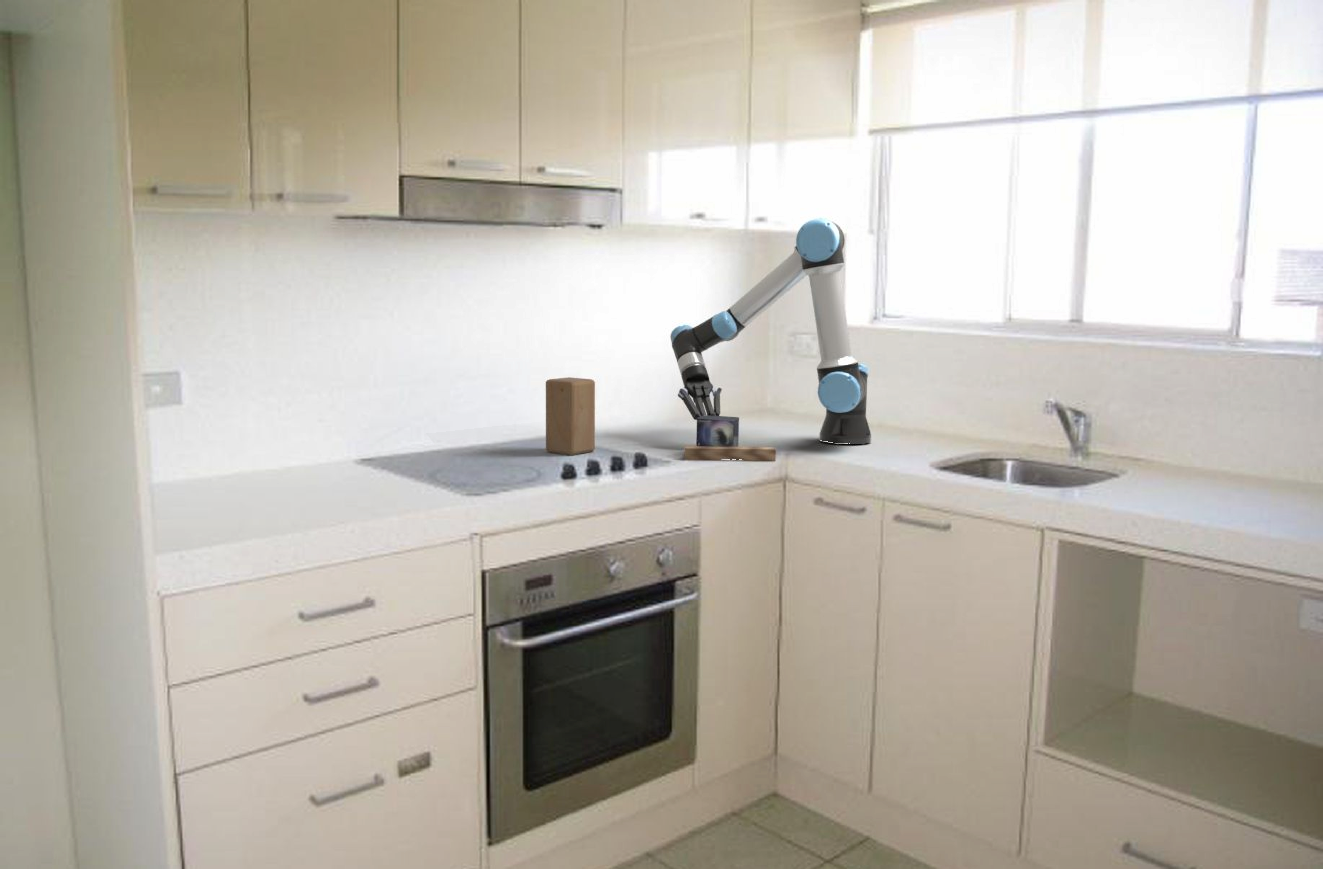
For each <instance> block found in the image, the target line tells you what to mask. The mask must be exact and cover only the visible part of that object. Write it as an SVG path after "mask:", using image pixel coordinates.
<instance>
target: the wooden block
mask: <svg viewBox="0 0 1323 869" xmlns="http://www.w3.org/2000/svg"><path fill="white" fill-rule="evenodd" d="M595 410H596V382H595V380H593V379H591V378H581V377H580V378H579V377H560V378H551V379H547V380H545V451H546V452H548V453H551V452H552V454H558V455H564V454H565V455H567V456H577V455H582V454H587V453H593V452H594V451H595V446H596V444H595V443H596V442H595V441H596V439H595V438H596V436H595V434H596V432H595V431H596V429H595V428H596V424H595V422H596V421H595V420H596V418H595V417H596V416H595V415H596V411H595Z"/></svg>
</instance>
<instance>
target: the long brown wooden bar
mask: <svg viewBox="0 0 1323 869" xmlns="http://www.w3.org/2000/svg"><path fill="white" fill-rule="evenodd" d="M776 452H777V449H776V447H775V446H738V447H724V446H696V445H685V446H684V458H683V459H684V461H719V460H721V459H730V460H732V459H736V460H739V459H742V460H745V461H744V462H776V459H777V458H776V457H777V455H776Z"/></svg>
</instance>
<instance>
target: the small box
mask: <svg viewBox="0 0 1323 869" xmlns="http://www.w3.org/2000/svg"><path fill="white" fill-rule="evenodd" d="M739 426H740V417H739V416H724V415H719V416H711V415H707V414H706V415H703V416H701V417H698V418H697V420H696V440H695V441H696V444H695V446H724V447H739V436H740V430H739V428H740V427H739Z"/></svg>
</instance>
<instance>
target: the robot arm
mask: <svg viewBox="0 0 1323 869" xmlns="http://www.w3.org/2000/svg"><path fill="white" fill-rule="evenodd" d="M845 239H846V238H845V235H844V232H843V230H842V228H841V227H840V225H838V224H837V223H835V222H834V221H831V220H829V219H826V218H822V217H820V218H814V219H811V220H808V221H806V222H805V223H804V224H802V226H801V227H800V228H799V230H798V231H797V234H796V239H795V246H793V249H794V250H793V253H792V254H790V255H789V256H788V257H787V258H786V259H784V260H783V261H781V263H780V264H779V265H778V266H777V267H775V268H774V269H773V270H772V271H771V272H769V274H767V275H766V276H765V277H764V278H762V279H761V280H760V281H759V282H758V283H756V284H755V285H754V286H753V287H752V288H751V289H750V290H749V291H747V292H746V293H745V294H744V295H743V296H742V297H740V298H739V299H738V300H737V301H736V302H735V303H734V304H732V305H731V306H730V307H729V308H728V309H727V310H724V311H721V312H718V313H717V314H714V315H713V316H711V317H710V318H708V319H706V320H704V321H703V322H701V323H700V324H698V325H696V326H694V327H693V326H690V325H688V324H683V325H677V327H675V328H674V329H672V331H671V333H670V335H669V336H670V337H669V338H670V342H671V347H672V350H673V354H674V356H675V359H676V362H677V366H678V369H679V373H680V376H681V379H682V380H681V381H682V385H683V388H680V389H679V391H678V394H677V397H679V399H681V400H682V401H683V403H684V405H685V406H686V409H687V410H688V411H689V414H690V415H691V416H692V418H693V421H694V420H695V421H697V418H698V417H701V416H703V415H711V416H721V415H720V414H721V393H722V390H723V389H722V387H717V388H716V387H714V385H713V383H711V381H710V377H709V373H708V369H707V367H706V363H705V360H704V357H703V354H702V353H704V352H705V351H707V350H709V349H710V348H712V347H714V346H716V345H718V344H720V343H723V342H731V341H733V340H734V339H735V338H737V337H738V336H739V334H740V333H741V331H743V330H744V329H746V327H748V325H750V324H751V323H752V322H753V321H754V320H755V319H757V318H759V316H761V314H763V313H764V312H765V311H766V310H767V309H769V308H770V307H771V306H772V305H773V304H775V303H776V302H777V301H778V300H779V299H781V298H782V297H783V296H784V295H785V294H786V293H787V292H789V291H790V290H791V289H792V288H794V287H795V286H796V285H797V284H798V283H800V282H801V280H803V279H804V278H806V276H807V275H808V278H809V285H810V291H811V292H810V293H811V299H812V305H813V314H814V318H815V326H816V328H815V329H816V333H817V341H818V348H819V354H820V362H819V364H817V366H816V371H817V381H818V387H817V395H818V400H819V402H820V404H821V405H822V406H823V407H824V408H825V416H824V420H823V422H822V426H821V428H820V432H819V434H818V435H819V439H820V440H822V441H828V442H833V443H848V444H849V443H850V444H862V445H864V444H863V443H869V444H871V443H872V434H871V430H870V426H869V422H868V419H867V399H868V398H867V397H868V396H867V394H868V377H869V372H868V366H866V365H865V364H861V363H859V361H858V360H857V359H855V357H853V355H852V349H851V342H850V335H849V334H850V333H849V328H848V320H847V314H846V307H845V306H846V304H845V300H844V294H843V293H844V292H843V286H842V276H841V270H842V268H843V267H844V266H845V260H844V252H843V250H844V247H845V241H846V240H845ZM711 393H712V396H713V404H712V400H711V396H710V394H711ZM870 442H871V443H870Z"/></svg>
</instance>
